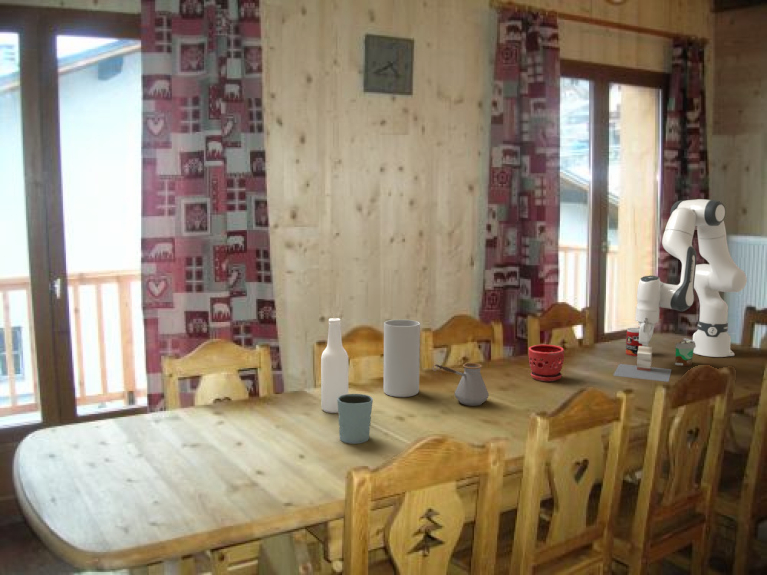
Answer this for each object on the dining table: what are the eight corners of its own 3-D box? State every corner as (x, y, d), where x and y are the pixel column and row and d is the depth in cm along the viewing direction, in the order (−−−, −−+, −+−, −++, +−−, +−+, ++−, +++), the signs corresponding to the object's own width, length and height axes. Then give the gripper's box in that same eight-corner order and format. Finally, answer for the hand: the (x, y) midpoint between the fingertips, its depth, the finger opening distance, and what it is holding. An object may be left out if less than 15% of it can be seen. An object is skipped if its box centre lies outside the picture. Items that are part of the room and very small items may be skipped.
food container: (689, 369, 290) (691, 345, 288) (674, 367, 293) (675, 343, 292) (697, 363, 299) (699, 340, 298) (682, 361, 303) (684, 338, 302)
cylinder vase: (378, 389, 259) (378, 320, 255) (410, 386, 263) (411, 318, 259) (391, 399, 247) (391, 327, 243) (424, 395, 251) (425, 325, 248)
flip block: (638, 362, 292) (638, 345, 288) (651, 363, 290) (652, 347, 286) (636, 369, 288) (637, 353, 284) (650, 371, 286) (650, 354, 282)
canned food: (621, 353, 317) (623, 328, 315) (635, 351, 320) (637, 327, 318) (634, 357, 310) (635, 331, 308) (648, 355, 313) (650, 330, 311)
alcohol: (315, 409, 236) (315, 318, 231) (336, 403, 242) (336, 315, 237) (333, 415, 229) (333, 322, 225) (353, 409, 235) (354, 319, 231)
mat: (619, 364, 297) (619, 363, 297) (671, 370, 288) (671, 369, 288) (613, 376, 279) (613, 375, 279) (668, 382, 270) (668, 381, 270)
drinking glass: (330, 439, 208) (330, 399, 207) (353, 429, 216) (353, 391, 215) (357, 447, 202) (357, 405, 200) (379, 437, 210) (379, 397, 208)
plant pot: (534, 372, 283) (535, 342, 282) (567, 377, 277) (568, 346, 275) (522, 380, 272) (523, 349, 271) (556, 385, 266) (558, 353, 264)
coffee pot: (474, 395, 252) (475, 353, 250) (495, 404, 242) (496, 360, 240) (423, 404, 242) (424, 360, 239) (443, 414, 232) (444, 368, 230)
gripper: (653, 321, 277) (650, 356, 279) (657, 313, 295) (655, 346, 297) (636, 320, 279) (633, 355, 281) (641, 312, 298) (639, 344, 300)
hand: (644, 350), depth 289 cm, fingers closed
